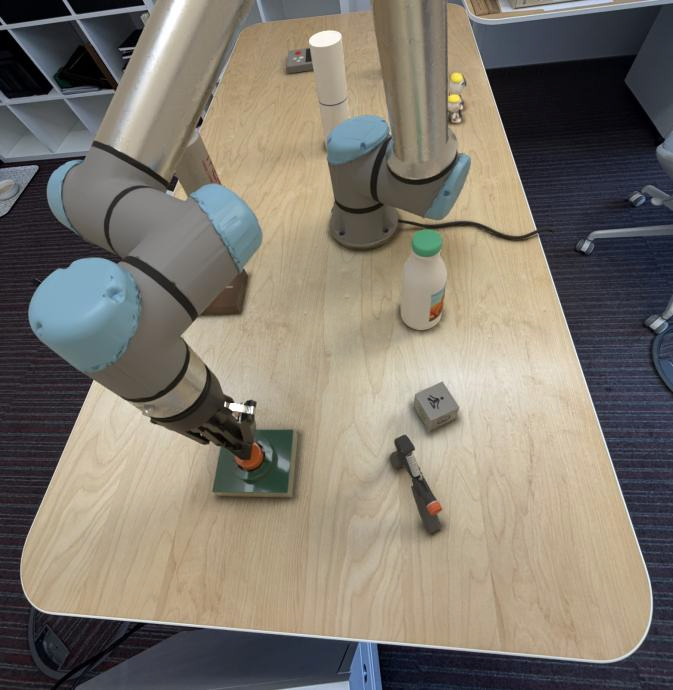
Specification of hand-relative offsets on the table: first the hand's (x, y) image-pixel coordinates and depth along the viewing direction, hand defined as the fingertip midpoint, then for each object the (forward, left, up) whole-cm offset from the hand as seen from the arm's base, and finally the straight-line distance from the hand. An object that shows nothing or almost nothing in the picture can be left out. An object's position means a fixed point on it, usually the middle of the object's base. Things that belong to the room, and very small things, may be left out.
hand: (246, 450), depth 62 cm
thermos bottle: (+18, -58, -8) cm, 61 cm away
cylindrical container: (-10, -85, -8) cm, 86 cm away
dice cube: (-29, -9, -8) cm, 31 cm away
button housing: (0, 0, -7) cm, 7 cm away
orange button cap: (0, 0, -3) cm, 3 cm away
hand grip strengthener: (-25, +4, -8) cm, 26 cm away
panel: (+15, -36, -7) cm, 40 cm away
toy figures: (-41, -95, -8) cm, 103 cm away
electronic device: (+1, -131, -8) cm, 131 cm away
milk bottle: (-28, -29, -8) cm, 41 cm away
